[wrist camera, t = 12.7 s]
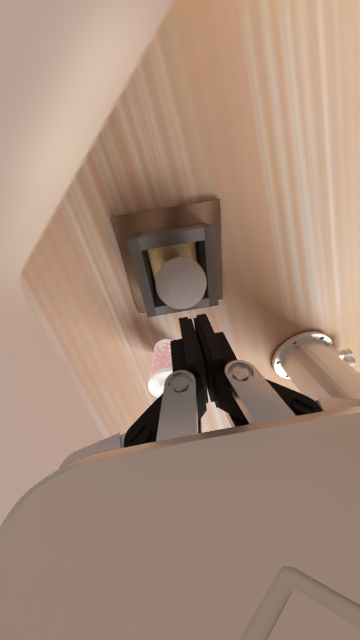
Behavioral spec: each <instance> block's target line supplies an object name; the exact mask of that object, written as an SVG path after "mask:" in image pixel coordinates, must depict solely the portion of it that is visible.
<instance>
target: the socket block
mask: <svg viewBox="0 0 360 640" xmlns="http://www.w3.org/2000/svg"><path fill="white" fill-rule="evenodd" d="M111 221H112V224H113V228H114V231H115V234H116V238H117V241H118V245H119V248H120V251H121V255H122V258H123V262H124V265H125V268H126V272H127V275H128V279H129V282H130V285H131V289H132V292H133V296H134V299H135V302H136V306H137V309H138V313H145V312H146V313H147V317H152V316H158V315H163V314H169V313H175V312H181V311H187V310H192V309H198V308H204V307H210V306H216V305H218V300H220V299H223V295H222V256H221V217H220V199H218V200H212V201H206V202H200V203H194V204H188V205H182V206H176V207H170V208H164V209H158V210H152V211H146V212H140V213H134V214H128V215H121V216H115V217H111ZM190 242H195V245H196V256H197V263H198V264H199V265H200V266H201V268H202V269H203V271H204V273H205V276H206V280H207V285H206V290H205V293H204V296H203V297H202V299H201V300H200V301H199V302H198V303H197V304H196V305H194V306H192V307H190V308H187V309H175V308H172V307H170V306H168V305H167V304H165V303H164V302H163V301H162V300H161V299H160V297H159V296H158V293H157V290H156V284H155V280H154V275H153V271H152V266H151V262H150V257H149V253H148V249H154V248H160V247H166V246H172V245H178V244H184V243H190Z"/></svg>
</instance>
